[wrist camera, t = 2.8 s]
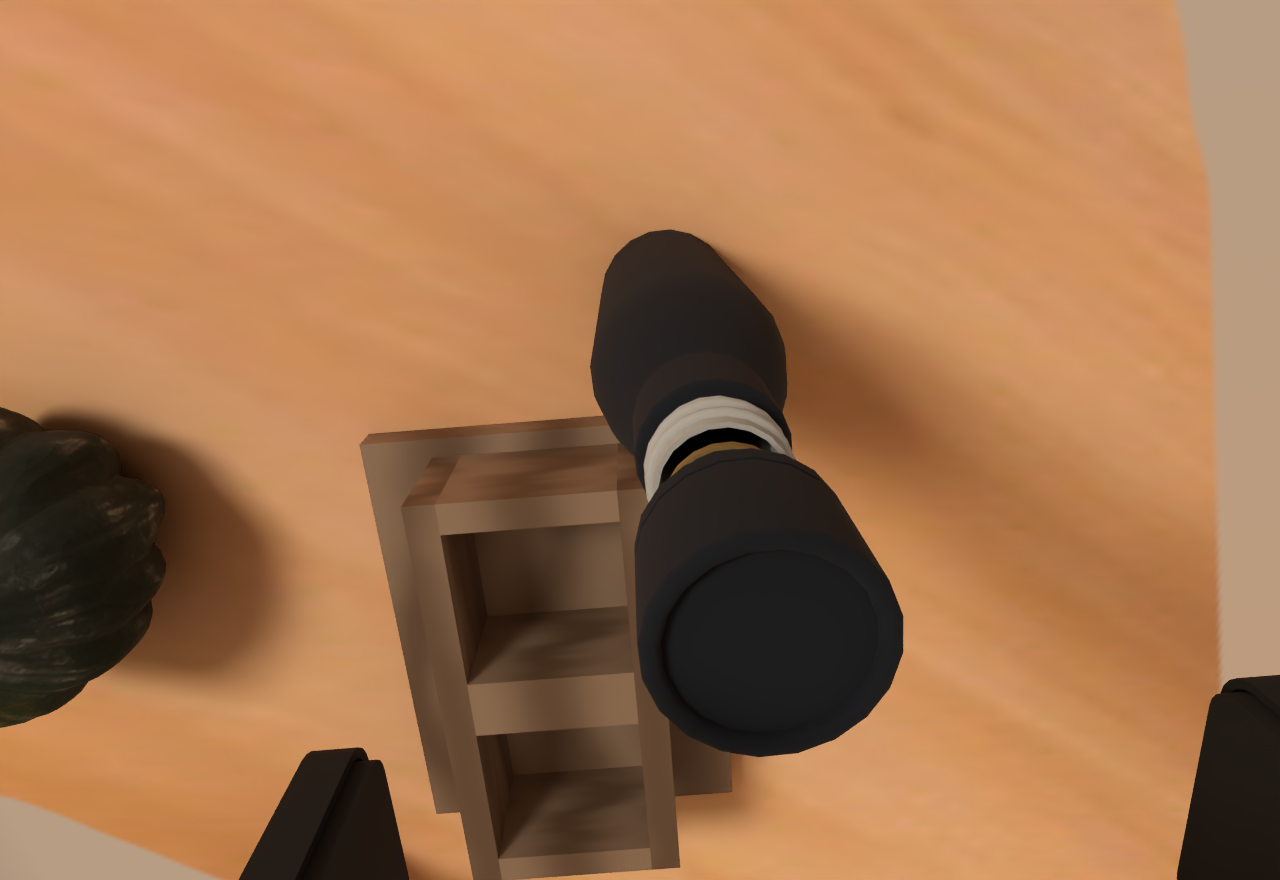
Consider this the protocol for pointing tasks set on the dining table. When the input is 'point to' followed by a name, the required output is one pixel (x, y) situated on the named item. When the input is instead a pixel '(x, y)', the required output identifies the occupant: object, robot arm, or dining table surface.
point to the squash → (69, 564)
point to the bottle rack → (532, 645)
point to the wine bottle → (733, 516)
